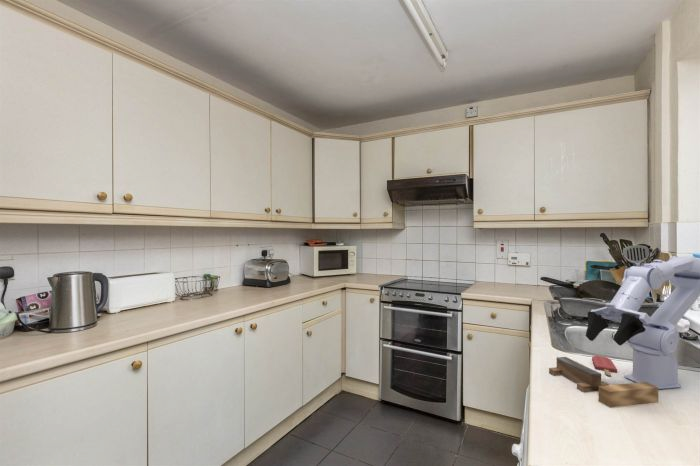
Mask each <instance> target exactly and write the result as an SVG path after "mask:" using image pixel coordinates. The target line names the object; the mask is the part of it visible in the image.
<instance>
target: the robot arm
mask: <svg viewBox="0 0 700 466" xmlns="http://www.w3.org/2000/svg"><path fill="white" fill-rule="evenodd" d="M668 281H669V285H671V286H673V287H675V288H674V290H673V291H672V292H671V293H670V294H669V295H668V296H667V297H666V298H665V300H664V301H663V302H662V303H661V304H660V305H659V306H658V308H657V309H656V310H655V311H654V312H653V313H652V315H651V316H650V315H648V313H647V312H640V311H639V310H640V309H641V306H642V305H643V304H644V302H645V300H646V299H647V297H648V296H649V294H650V292H651V290H659V289H660V288H661V286H662V284H664V283H665V282H668ZM620 285H621V286H620V287H619V289H618V290H617V292H616V293H615V295H614V297H613V298H612V300H610V302H607V303H605V306H603V307H601V308H596V309H591V310H590V311H588V312H587V327H586V332H585V335H584V336H585V337H586V338H587V339H588V340H589V341H591V342H594V340H596V338H597V337H598V336H599V335H600V334H601V333H602V331H604V330H605V329H607V328H609V326H610V325H609V324H608V323H607V322H606V321H605V319H606V320H609V321H612V322H615V323H619V326H618V328H617V330H616V332H615V333H614V336H613V338H612V339H613V341H614V342H615V343H616V344H617V345H618V346H622V345H624V344H625V343H626V342H627V344H629V347H630V348H631V349H632V374H628V375H627V374H624V377H623V378H626V379H628V380H630V381H632V382H633V383H640V382H647V383H649V384H652V385H654V386H656V387H658V390H664V389H675V388H682V385H681V384H678V382H679V380H678V379H679V376H678V375H679V373H678V372H679V371H678V370H679V364H678V363H679V362H678V359H677V358H676V356H675V355H674V354H673V353H674V352H675V351H676V349H677V347H678V343H679V341H680V340H681V339H680V334H679V331H678V328H676V325H677V324H678V323H679V322H680V320H681V319H682V318H683V317H684V316H685V314H686V313H687V312H688V311H689V309H690V308H691V307H693V305H694V304H695V302H696V301H697V300H698V299H699V297H700V257H692V256H691V257H688V256H686V257H685V256H678V255H673V256H669V259H668V260H667V261H664V260H662V259H653V261H652V262H651V263H647V262H646V263H643V265H641V266H635V265H632V266H630V267H628V268H625V269H624V273H623V278H622V280H621V282H620Z"/></svg>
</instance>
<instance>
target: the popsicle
mask: <svg viewBox="0 0 700 466" xmlns="http://www.w3.org/2000/svg"><path fill="white" fill-rule="evenodd" d="M591 361H593V362H592V365H593V367H594V369H595V371H600V372H601V371H602V372H604V373H605V375H606V376H608V377H611V376H612V374H611V373H614V374H617V373H618V369H617V367H616V365H615V364H614V362H613V361H612V359H610V358H609V357H605V356H602V355H593V356H592V357H591Z"/></svg>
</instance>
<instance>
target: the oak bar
mask: <svg viewBox="0 0 700 466" xmlns="http://www.w3.org/2000/svg"><path fill="white" fill-rule="evenodd" d="M597 399H598V402H599V403H601V404H603V405H604V406H607V407H608V408H616V407H617V408H618V407H629V406H637V405H647V404H648V405H649V404H655V403H656V404H658V403H659V389H658V387H656V386H654V385H652V384H649V383H647V382H640V383H636V382H631V383H629V382H628V383H620V384H619V383H618V384H610V385H606V386H599V391H598V398H597Z"/></svg>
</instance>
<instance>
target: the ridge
mask: <svg viewBox="0 0 700 466" xmlns="http://www.w3.org/2000/svg"><path fill="white" fill-rule="evenodd" d="M548 373H549V374H550V375H552V376H554V377H557V376H562V377H564V378H566V379H568V380H570V381H571V382H573V383H575V384H576V389H577V390H579V391H580V392H582V393H588V392H591V393H592V392H599V386H606V385H611V384H610V383H608V382H606V381H603V380H602V373H601V372H598V370H596V369H595V370H594V369H592V368H590V367H588V366H586V365H584V364H583V363H579V362H578V361H576V360H573V359H571V358H570V357H567V356H558V357H556V366H555V367H549V368H548Z"/></svg>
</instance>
